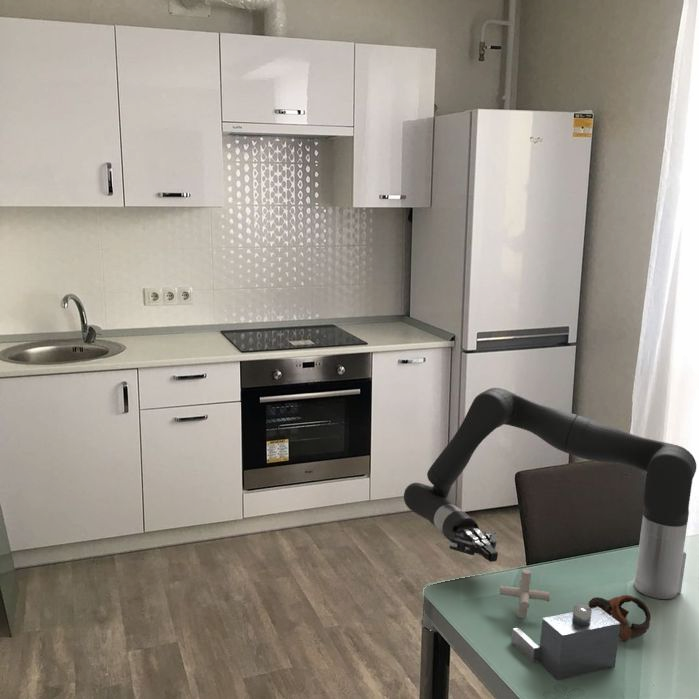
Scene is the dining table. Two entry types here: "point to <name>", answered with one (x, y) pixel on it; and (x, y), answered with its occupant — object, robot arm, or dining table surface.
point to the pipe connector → (524, 593)
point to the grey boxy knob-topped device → (573, 642)
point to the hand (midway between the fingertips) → (494, 557)
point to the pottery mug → (623, 614)
